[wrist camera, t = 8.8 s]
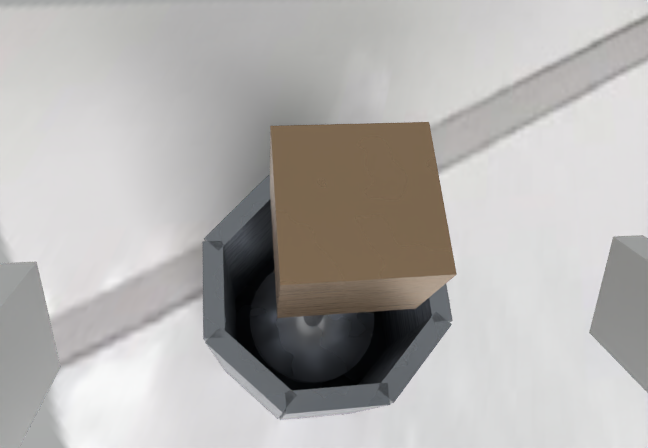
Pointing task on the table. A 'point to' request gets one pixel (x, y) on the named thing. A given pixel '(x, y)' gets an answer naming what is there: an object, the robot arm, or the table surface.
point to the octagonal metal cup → (244, 359)
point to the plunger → (347, 241)
